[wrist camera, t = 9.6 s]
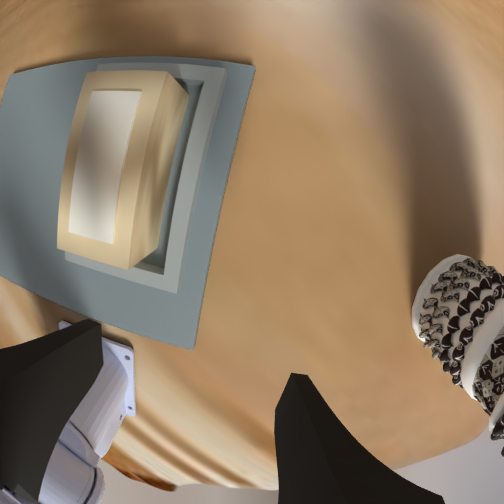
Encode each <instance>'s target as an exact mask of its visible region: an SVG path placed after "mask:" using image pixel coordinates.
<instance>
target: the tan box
mask: <svg viewBox="0 0 504 504" xmlns="http://www.w3.org/2000/svg"><path fill="white" fill-rule="evenodd" d="M188 99H189V94H188V93H187V92H186V91H185V90H184V89H183V88H182V87H181V86H180V84H179V83H178V82H177V81H176V80H175V79H174V78H173V77H172V76H171V75H170V74H169V73H168V71H146V70H122V71H98V72H87V73H86V76H85V79H84V82H83V85H82V88H81V92H80V95H79V98H78V102H77V105H76V109H75V113H74V117H73V121H72V125H71V130H70V134H69V139H68V144H67V149H66V155H65V161H64V167H63V174H62V182H61V190H60V200H59V212H58V231H57V248H58V249H61V250H64V251H67V252H70V253H73V254H76V255H79V256H83V257H86V258H89V259H92V260H95V261H99V262H102V263H105V264H109V265H112V266H115V267H119V268H122V269H126V270H129V269H131V268H132V267H133V266H134V265H136V264H137V263H138V262H140V261H141V260H142V259H144V258H145V257H146V256H148V255H149V254H150V253H152V252H153V251H154V250H156V249H157V248H158V242H159V235H160V228H161V222H162V216H163V210H164V204H165V198H166V193H167V188H168V183H169V178H170V173H171V168H172V163H173V159H174V154H175V150H176V146H177V141H178V137H179V133H180V129H181V125H182V121H183V118H184V114H185V110H186V107H187V103H188Z"/></svg>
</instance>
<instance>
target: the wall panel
mask: <svg viewBox="0 0 504 504" xmlns="http://www.w3.org/2000/svg"><path fill="white" fill-rule="evenodd" d="M122 70H146V71H168V73H169V74H170V75H171V76H172V77H173V78H174V79H175V80H176V81H177V82H178V83H179V84H180V86H181V87H182V88H183V89H184V90H185V91H186V92H187V93H188V94H189V99H188V103H187V107H186V110H185V114H184V118H183V121H182V125H181V129H180V133H179V137H178V141H177V146H176V150H175V154H174V159H173V163H172V168H171V173H170V178H169V183H168V188H167V193H166V198H165V204H164V210H163V216H162V222H161V228H160V235H159V242H158V248H157V249H156V250H154V251H153V252H152V253H150V254H149V255H148V256H146V257H145V258H144V259H142V260H141V261H140V262H138V263H137V264H136V265H134V266H133V267H132V268H131V269H129V270H126V269H122V268H119V267H115V266H112V265H109V264H105V263H102V262H99V261H95V260H92V259H89V258H86V257H83V256H79V255H76V254H73V253H70V252H67V251H64V250H61V249H58V248H57V231H58V212H59V200H60V190H61V182H62V174H63V167H64V161H65V155H66V149H67V144H68V139H69V134H70V130H71V125H72V121H73V117H74V113H75V109H76V105H77V102H78V98H79V95H80V92H81V88H82V85H83V82H84V79H85V76H86V73H87V72H98V71H122ZM255 71H256V68H255V66H251V65H246V64H240V63H233V62H226V61H219V60H210V59H201V58H189V57H171V56H124V57H107V58H96V59H86V60H79V61H71V62H65V63H59V64H54V65H48V66H44V67H39V68H35V69H30V70H26V71H22V72H19V73H15V74H12V75H10V76H9V78H8V82H7V85H6V88H5V91H4V95H3V98H2V102H1V106H0V276H2V277H4V278H5V279H7V280H9V281H11V282H13V283H15V284H17V285H19V286H21V287H23V288H25V289H27V290H29V291H31V292H33V293H35V294H37V295H39V296H41V297H43V298H45V299H48V300H50V301H52V302H54V303H56V304H59V305H61V306H63V307H66V308H68V309H70V310H73V311H75V312H78V313H80V314H83V315H85V316H88V317H90V318H93V319H95V320H98V321H101V322H103V323H106V324H109V325H111V326H114V327H117V328H120V329H123V330H126V331H129V332H132V333H135V334H138V335H141V336H144V337H147V338H150V339H154V340H157V341H160V342H164V343H167V344H171V345H174V346H178V347H181V348H185V349H189V350H193V349H194V347H195V343H196V337H197V331H198V325H199V319H200V313H201V308H202V302H203V297H204V291H205V286H206V281H207V275H208V270H209V265H210V260H211V255H212V250H213V245H214V240H215V235H216V231H217V226H218V221H219V217H220V212H221V207H222V203H223V198H224V194H225V189H226V185H227V181H228V176H229V172H230V168H231V164H232V159H233V155H234V151H235V147H236V143H237V139H238V135H239V131H240V127H241V123H242V119H243V115H244V112H245V108H246V104H247V100H248V96H249V93H250V89H251V85H252V82H253V78H254V75H255Z"/></svg>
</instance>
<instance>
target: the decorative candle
mask: <svg viewBox="0 0 504 504" xmlns="http://www.w3.org/2000/svg"><path fill="white" fill-rule="evenodd" d="M411 325H412V327H413V329H414V331H415V334H416V336H417V337H418V339H420V340H422V341H423V342H425V343H424V348H429V349H432V348H433V349H432V353H433V354H432V358H433V359H436V358H439V359H440V362H441V364H443V371H444V372H450V374H451V375H452V376H453V378H452V381H453V384H455V385H460V387H461V388H464V389H465V390H466V391H467V393H468V394H469V395H470V397H471V398H473V399H475V400H478V401H479V402H480V403H481V405H482V408H483V409H484V411H485V412H486V413H488V414H489V415H490V418H489V430H490V432H492V434H491V439H492V440H498V439H502V438H503V439H504V276H503V277H502V275H501V274H500V273H498V272H497V270H496V269H495V268H494V267H493V266H486V265H485V264H484V263H483V262H482V261H481V260H477V261H475V260H474V259H472V258H471V257H469V256H465V255H460V254H456V255H453V256H450V257H447V258H445V259H443V260H442V261H440V262H439V263H438V264H437V265H436V266H435V267H434V268H433V269H431V270H430V271H429V273H428V274H427V276H426V277H425V279H424V280H423V282H422V284H421V285H420V287H419V288H418V290H417V293H416V297H415V300H414V303H413V305H412V321H411ZM501 454H502V456H504V447H503V449H502V452H501Z"/></svg>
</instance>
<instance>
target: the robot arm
mask: <svg viewBox="0 0 504 504" xmlns="http://www.w3.org/2000/svg"><path fill="white" fill-rule="evenodd" d="M127 356H129V357H130V358H129V357H127ZM125 415H129V416H132V417H133V416H135V415H136V403H135V382H134V351H133V349H132V348H131V347H129V346H126V345H123V344H120V343H117V342H114V341H112V340H109V339H106V338H104V337H102V334H101V324H100V323H97V322H95V321H92V320H90V319H86V320H83V321H81V322H78V323H75V324H73V325H72V324H70V323H67V322H65V321H60V322H59V330H58V331H56V332H53V333H50V334H48V335H45V336H43V337H40V338H37V339H34V340H31V341H28V342H25V343H22V344H19V345H15V346H12V347H7V348H3V349H0V504H100V503H101V500H102V498H103V495H104V489H105V483H104V476H103V473H102V471H101V469H100V468H99V467H97V464H98V462H99V460H100V458H102V457H103V456H104V455H105V454H106V453H107V452H108V450H109V448H110V445H111V443H112V441H113V439H114V437H115V435H116V433H117V431H118V429H119V427H120V425H121V423H122V421H123V419H124V417H125ZM274 434H275V446H276V457H277V468H278V479H279V498H278V504H445V502H444V500H443V497H442V496H440V495H437V494H435V493H433V492H431V491H428V490H426V489H424V488H421V487H419V486H417V485H415V484H413V483H412V482H410V481H408V480H406V479H405V478H403V477H401V476H400V475H398V474H397V473H395V472H394V471H392V470H391V469H389V468H388V467H387V466H385V465H384V464H383V463H381V462H380V461H379V460H378V459H376V458H375V457H374V456H373V455H372V454H371V453H370V452H368V451H367V450H366V449H365V448H364V447H363V446H362V445H361V444H360V443H359V442H358V441H357V440H356V439H355V438H354V437H353V436H352V435H351V433H350V432H349V431H348V430H347V429H346V428H345V426H344V425H343V424H342V423H341V422H340V420H339V419H338V418H337V417H336V415H335V414H334V413H333V411H332V410H331V409H330V407H329V406H328V404H327V403H326V402H325V400H324V399H323V397H322V396H321V394H320V393H319V392H318V390H317V389H316V387H315V386H314V384H313V383H312V381H311V380H310V378H309V377H308V375H304V374H296V373H291V375H290V377H289V380H288V382H287V384H286V386H285V389H284V391H283V393H282V396H281V398H280V400H279V402H278V404H277V407H276V409H275V427H274Z"/></svg>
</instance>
